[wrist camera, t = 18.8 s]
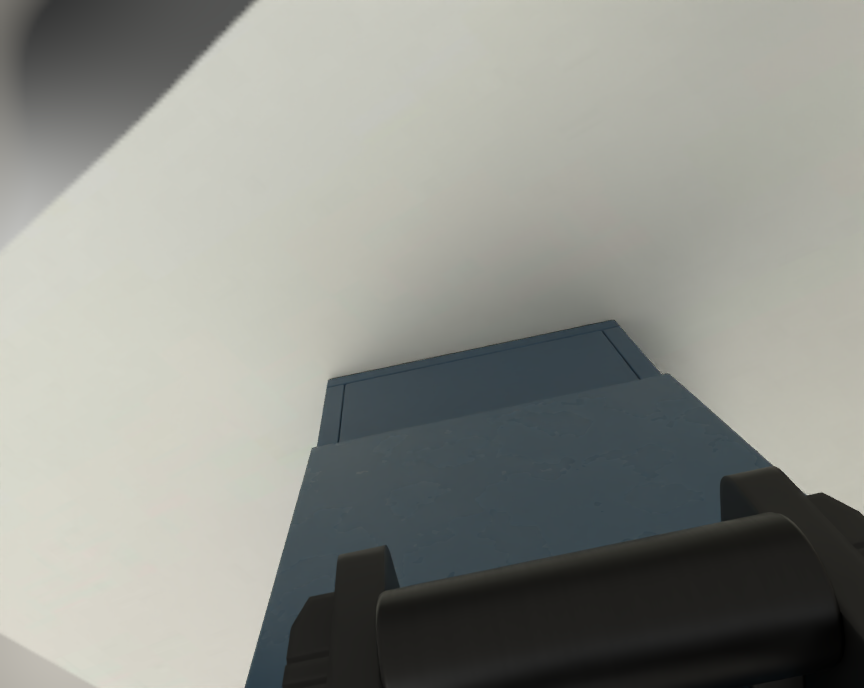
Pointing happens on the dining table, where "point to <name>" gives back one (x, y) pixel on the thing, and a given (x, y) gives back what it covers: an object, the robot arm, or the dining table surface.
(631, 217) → the dining table surface
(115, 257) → the dining table surface
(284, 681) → the robot arm
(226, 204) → the dining table surface
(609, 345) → the toolbox
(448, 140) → the dining table surface
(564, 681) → the toolbox lid
